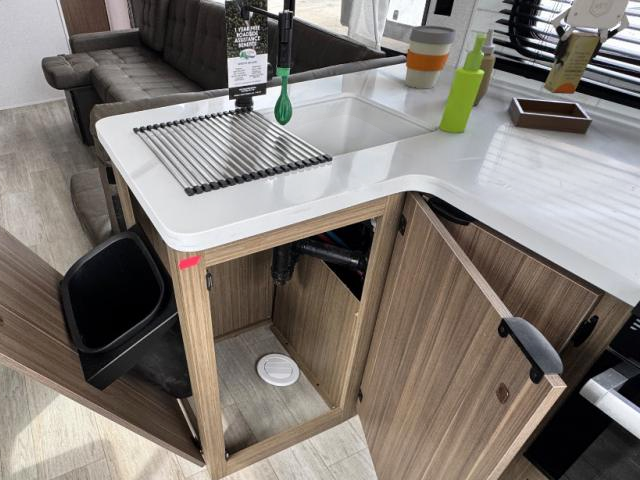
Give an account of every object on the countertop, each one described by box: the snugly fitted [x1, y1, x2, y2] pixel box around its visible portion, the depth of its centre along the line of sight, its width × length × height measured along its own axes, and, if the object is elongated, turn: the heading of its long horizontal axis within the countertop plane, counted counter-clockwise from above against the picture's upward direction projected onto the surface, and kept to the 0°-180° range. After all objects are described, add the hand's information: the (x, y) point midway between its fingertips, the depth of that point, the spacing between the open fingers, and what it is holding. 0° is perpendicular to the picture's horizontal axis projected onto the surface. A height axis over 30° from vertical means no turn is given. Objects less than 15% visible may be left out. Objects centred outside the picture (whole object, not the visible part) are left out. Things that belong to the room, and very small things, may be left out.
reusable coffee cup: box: [404, 25, 457, 89], centre depth 132 cm, size 13×13×15 cm
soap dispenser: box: [439, 33, 486, 134], centre depth 101 cm, size 6×7×20 cm
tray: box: [507, 96, 593, 135], centre depth 111 cm, size 16×14×3 cm
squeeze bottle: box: [473, 28, 496, 106], centre depth 117 cm, size 8×8×18 cm
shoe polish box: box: [543, 31, 601, 95], centre depth 103 cm, size 5×5×12 cm
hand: (572, 59), depth 102 cm, fingers closed on shoe polish box, 5 cm apart
